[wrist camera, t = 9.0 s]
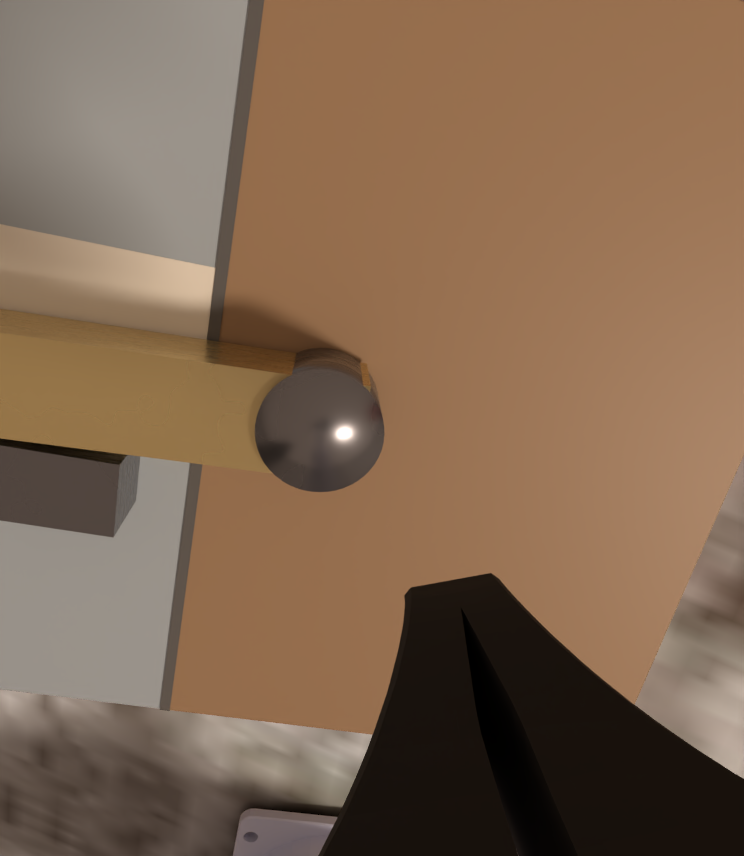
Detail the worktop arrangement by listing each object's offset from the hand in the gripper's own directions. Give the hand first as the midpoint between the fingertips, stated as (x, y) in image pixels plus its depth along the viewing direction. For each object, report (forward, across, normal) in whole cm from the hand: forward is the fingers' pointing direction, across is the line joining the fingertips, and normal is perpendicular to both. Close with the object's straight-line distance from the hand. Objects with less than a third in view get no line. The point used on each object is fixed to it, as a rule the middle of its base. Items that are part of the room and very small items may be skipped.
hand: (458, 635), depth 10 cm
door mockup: (+10, +4, -2) cm, 11 cm away
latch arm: (+8, +6, -3) cm, 11 cm away
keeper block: (+9, +9, -1) cm, 13 cm away
